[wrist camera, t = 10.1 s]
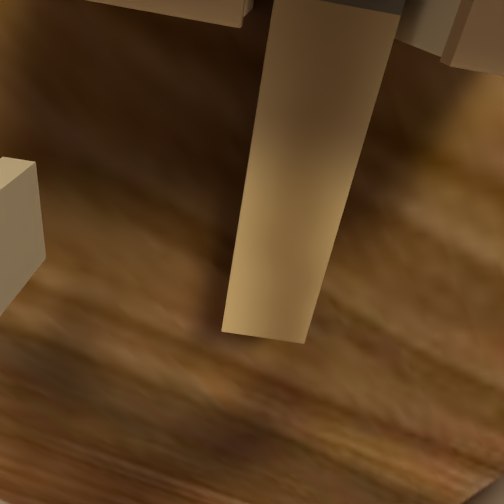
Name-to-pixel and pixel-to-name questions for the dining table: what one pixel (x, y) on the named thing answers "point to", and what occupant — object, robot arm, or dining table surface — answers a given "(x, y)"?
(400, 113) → the dining table surface
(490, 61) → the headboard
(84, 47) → the dining table surface
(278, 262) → the rail
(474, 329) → the dining table surface
